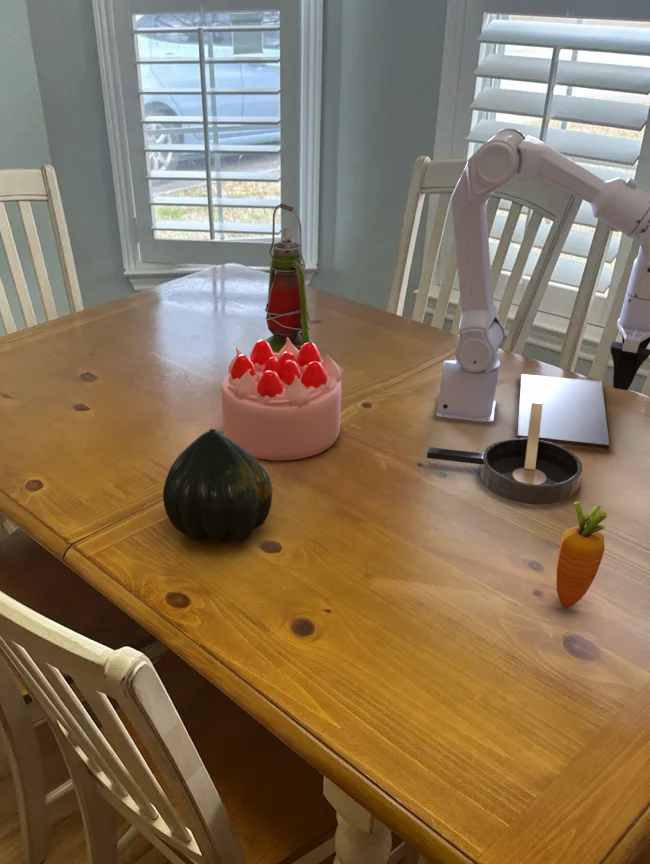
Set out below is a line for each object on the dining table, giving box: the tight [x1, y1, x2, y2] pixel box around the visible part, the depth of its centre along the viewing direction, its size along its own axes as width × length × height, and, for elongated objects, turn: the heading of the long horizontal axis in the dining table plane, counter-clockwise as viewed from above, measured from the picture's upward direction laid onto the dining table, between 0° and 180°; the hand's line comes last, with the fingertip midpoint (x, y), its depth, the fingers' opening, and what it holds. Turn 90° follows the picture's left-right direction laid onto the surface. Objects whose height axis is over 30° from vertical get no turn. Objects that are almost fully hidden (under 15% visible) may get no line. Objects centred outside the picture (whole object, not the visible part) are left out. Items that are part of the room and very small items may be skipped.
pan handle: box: [426, 446, 484, 465], centre depth 125 cm, size 8×2×1 cm, turn 73°
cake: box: [220, 337, 344, 462], centre depth 135 cm, size 20×20×14 cm
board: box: [516, 373, 610, 450], centre depth 141 cm, size 14×24×1 cm, turn 163°
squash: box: [162, 428, 273, 543], centre depth 114 cm, size 14×15×15 cm
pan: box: [479, 437, 583, 505], centre depth 123 cm, size 14×14×4 cm
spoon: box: [511, 403, 547, 485], centre depth 125 cm, size 15×5×7 cm, turn 163°
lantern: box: [264, 203, 314, 353], centre depth 152 cm, size 14×11×30 cm
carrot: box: [556, 501, 608, 609], centre depth 96 cm, size 5×5×15 cm
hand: (624, 378), depth 129 cm, fingers open, 7 cm apart
